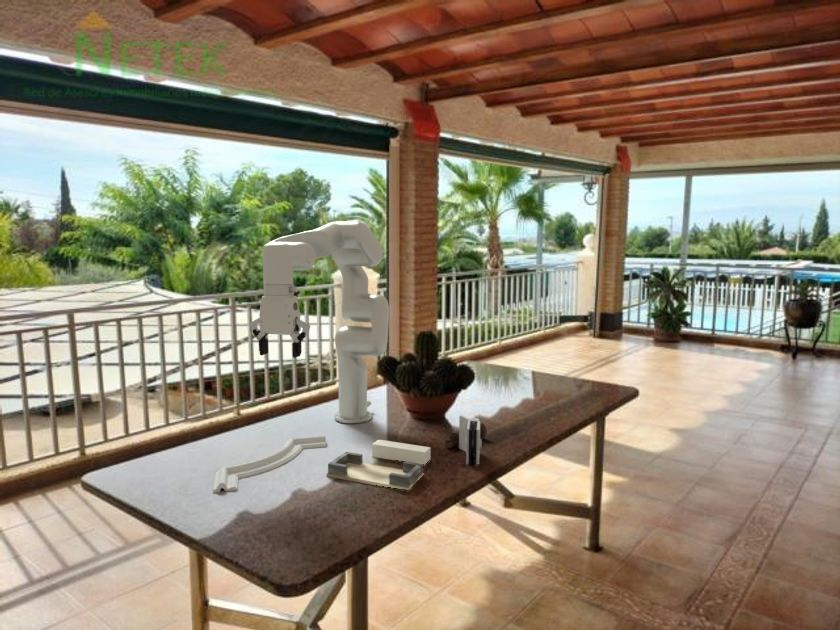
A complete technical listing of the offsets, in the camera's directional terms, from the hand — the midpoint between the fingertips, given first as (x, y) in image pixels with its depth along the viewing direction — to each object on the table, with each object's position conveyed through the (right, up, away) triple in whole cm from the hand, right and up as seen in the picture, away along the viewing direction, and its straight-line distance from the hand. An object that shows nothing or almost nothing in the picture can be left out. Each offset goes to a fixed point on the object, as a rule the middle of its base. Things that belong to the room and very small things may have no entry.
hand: (280, 355), depth 157 cm
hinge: (+51, -29, +11) cm, 60 cm away
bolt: (+50, -28, +22) cm, 62 cm away
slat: (+32, -30, +9) cm, 44 cm away
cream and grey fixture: (+25, -31, -4) cm, 40 cm away
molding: (-2, -30, +5) cm, 31 cm away
